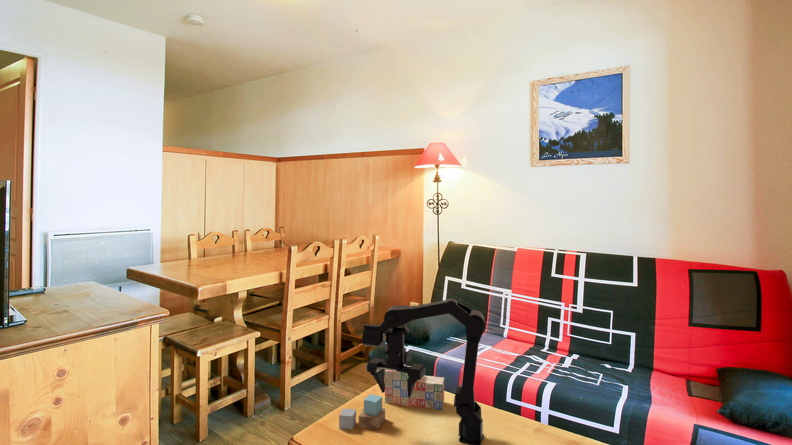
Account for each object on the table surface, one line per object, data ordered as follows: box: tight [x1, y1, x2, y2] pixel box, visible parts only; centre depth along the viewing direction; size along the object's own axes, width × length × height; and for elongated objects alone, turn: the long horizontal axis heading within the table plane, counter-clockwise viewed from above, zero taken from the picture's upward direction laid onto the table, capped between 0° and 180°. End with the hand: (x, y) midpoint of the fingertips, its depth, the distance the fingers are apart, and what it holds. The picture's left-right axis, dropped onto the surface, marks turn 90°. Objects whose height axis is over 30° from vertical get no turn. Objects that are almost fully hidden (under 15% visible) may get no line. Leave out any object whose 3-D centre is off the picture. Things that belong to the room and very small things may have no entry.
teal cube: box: [363, 393, 383, 416], centre depth 132 cm, size 4×4×4 cm
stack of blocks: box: [384, 365, 445, 411], centre depth 146 cm, size 21×6×12 cm, turn 76°
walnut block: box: [358, 407, 386, 431], centre depth 132 cm, size 7×7×4 cm
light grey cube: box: [338, 408, 357, 431], centre depth 130 cm, size 4×4×4 cm
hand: (396, 394), depth 127 cm, fingers open, 9 cm apart
